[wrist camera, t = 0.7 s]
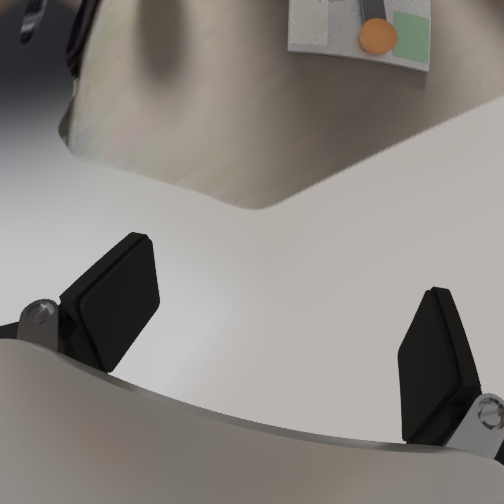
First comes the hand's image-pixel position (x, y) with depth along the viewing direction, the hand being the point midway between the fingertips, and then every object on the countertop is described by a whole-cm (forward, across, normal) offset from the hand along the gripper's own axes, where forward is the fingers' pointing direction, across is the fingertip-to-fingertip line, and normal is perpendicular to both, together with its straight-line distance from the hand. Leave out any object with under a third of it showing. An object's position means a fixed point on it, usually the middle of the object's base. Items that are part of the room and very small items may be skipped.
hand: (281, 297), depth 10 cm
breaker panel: (+26, -3, -18) cm, 32 cm away
